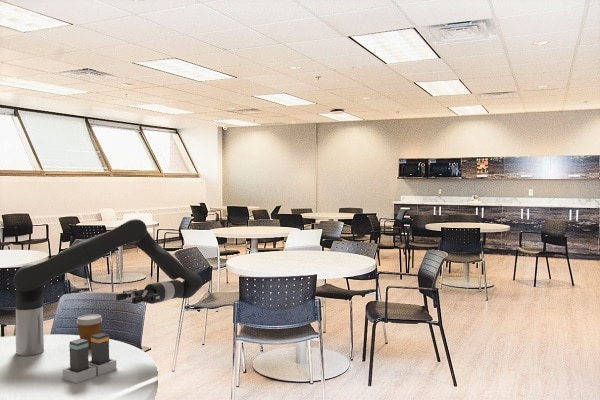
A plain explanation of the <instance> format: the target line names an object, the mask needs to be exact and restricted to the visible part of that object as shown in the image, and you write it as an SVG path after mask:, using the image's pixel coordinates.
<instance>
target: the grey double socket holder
mask: <svg viewBox="0 0 600 400" xmlns="http://www.w3.org/2000/svg"><path fill="white" fill-rule="evenodd" d="M116 370H118V367H117V360H116V359H113V358H110V357H109V362H107V363H104V364H101V365H96V364H93V363H92V359H91V360H89V369H86V370H83V371H81V372H78V373H76V372H73V371H70V366H69V367H66V368H63V369H62V378H61V380H63V381H66V382H68V383H71V384H74V385H78V384H80V383H83V382H86V381H89V380H92V379H94V378H97V377H99V376H103V375H106V374H108V373H111V372H113V371H116Z"/></svg>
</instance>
